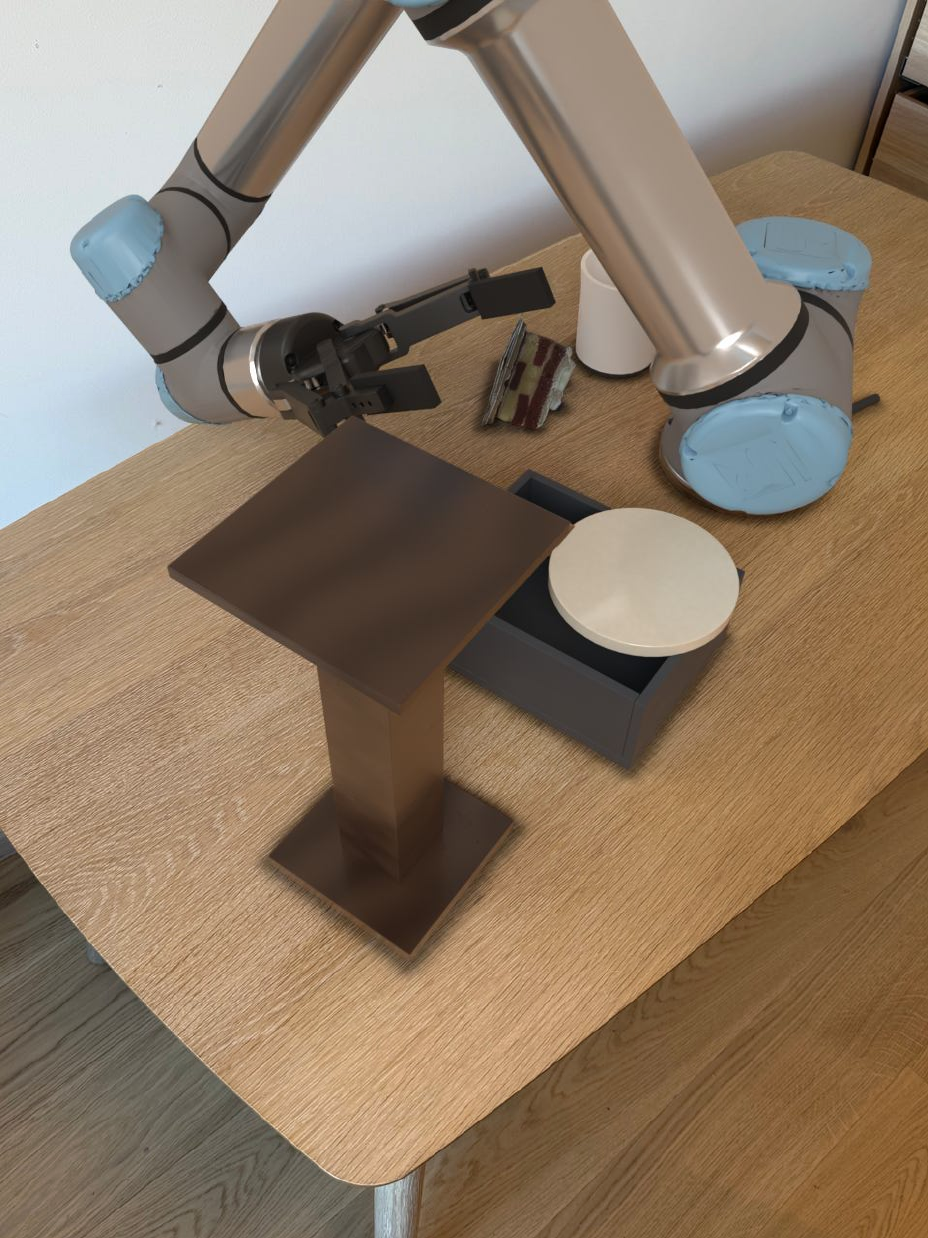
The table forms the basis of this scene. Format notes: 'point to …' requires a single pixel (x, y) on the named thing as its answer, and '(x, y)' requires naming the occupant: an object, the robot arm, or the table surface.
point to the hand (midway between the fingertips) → (491, 334)
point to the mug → (608, 327)
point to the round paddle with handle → (643, 582)
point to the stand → (378, 656)
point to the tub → (575, 657)
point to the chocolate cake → (529, 379)
